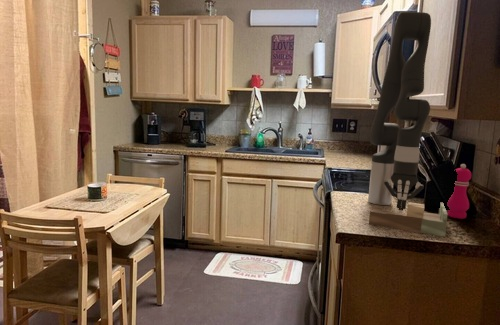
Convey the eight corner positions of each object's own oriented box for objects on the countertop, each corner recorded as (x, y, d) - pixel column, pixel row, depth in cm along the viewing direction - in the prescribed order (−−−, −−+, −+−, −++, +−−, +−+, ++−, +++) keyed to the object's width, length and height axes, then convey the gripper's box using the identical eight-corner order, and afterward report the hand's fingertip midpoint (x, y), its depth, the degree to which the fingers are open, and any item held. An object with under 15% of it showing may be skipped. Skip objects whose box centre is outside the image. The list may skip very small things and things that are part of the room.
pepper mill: (443, 215, 138) (449, 163, 135) (449, 212, 143) (455, 161, 140) (464, 220, 133) (471, 166, 130) (470, 216, 138) (477, 164, 135)
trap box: (373, 211, 139) (375, 193, 138) (441, 221, 130) (443, 202, 129) (368, 224, 124) (370, 204, 123) (445, 236, 115) (447, 215, 114)
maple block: (406, 216, 126) (408, 202, 126) (422, 218, 124) (424, 204, 124) (406, 220, 122) (407, 205, 121) (422, 222, 120) (424, 207, 119)
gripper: (427, 160, 123) (421, 210, 125) (386, 156, 128) (381, 204, 131) (428, 163, 116) (422, 215, 119) (384, 159, 121) (379, 209, 124)
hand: (400, 209), depth 125 cm, fingers closed
